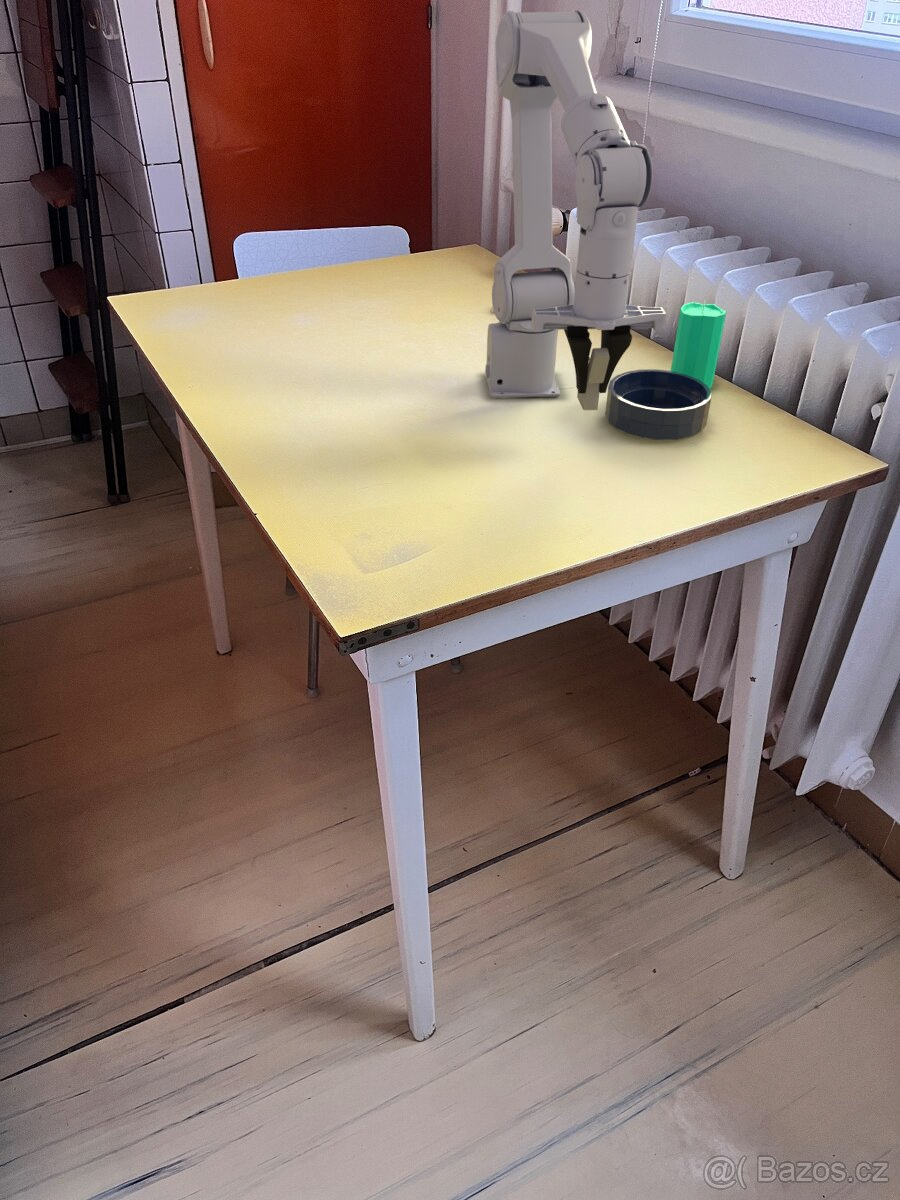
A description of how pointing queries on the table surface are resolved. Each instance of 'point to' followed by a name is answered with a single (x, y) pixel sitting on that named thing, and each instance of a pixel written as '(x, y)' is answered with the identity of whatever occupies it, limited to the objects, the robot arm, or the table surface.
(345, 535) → the table surface
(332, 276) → the table surface
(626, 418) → the bowl
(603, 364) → the lighter
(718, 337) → the candle
